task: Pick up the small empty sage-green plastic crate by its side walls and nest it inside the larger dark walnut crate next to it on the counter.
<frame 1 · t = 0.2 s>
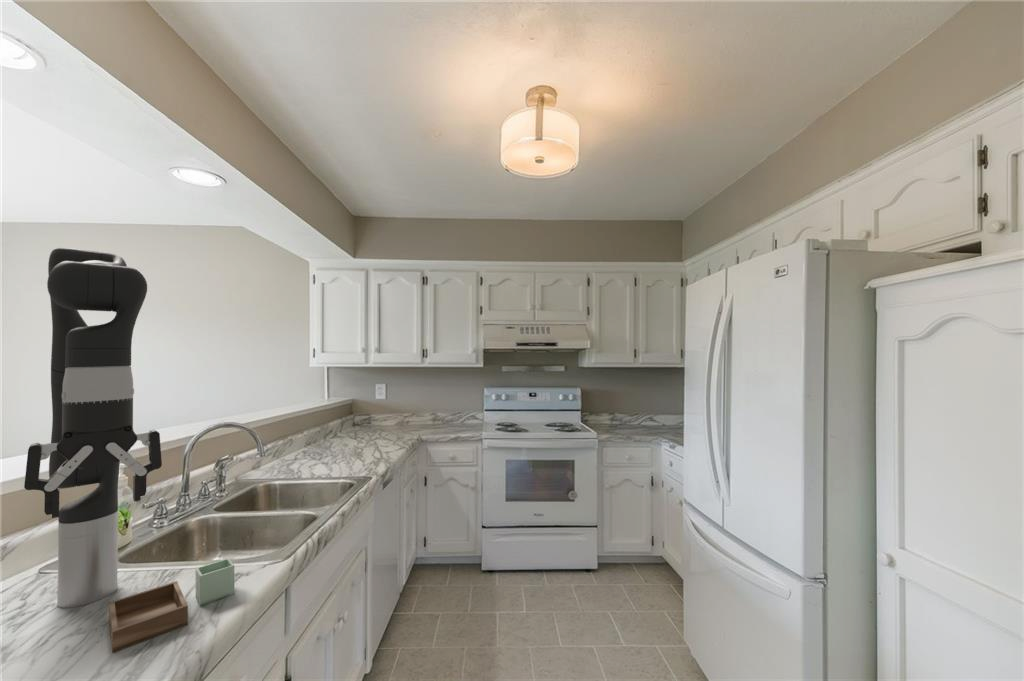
hand: (97, 507, 62), 29 cm above the worktop, tool pointing down, fingers open, 8 cm apart
big crate: (148, 622, 81), on the worktop
small crate: (215, 595, 90), on the worktop
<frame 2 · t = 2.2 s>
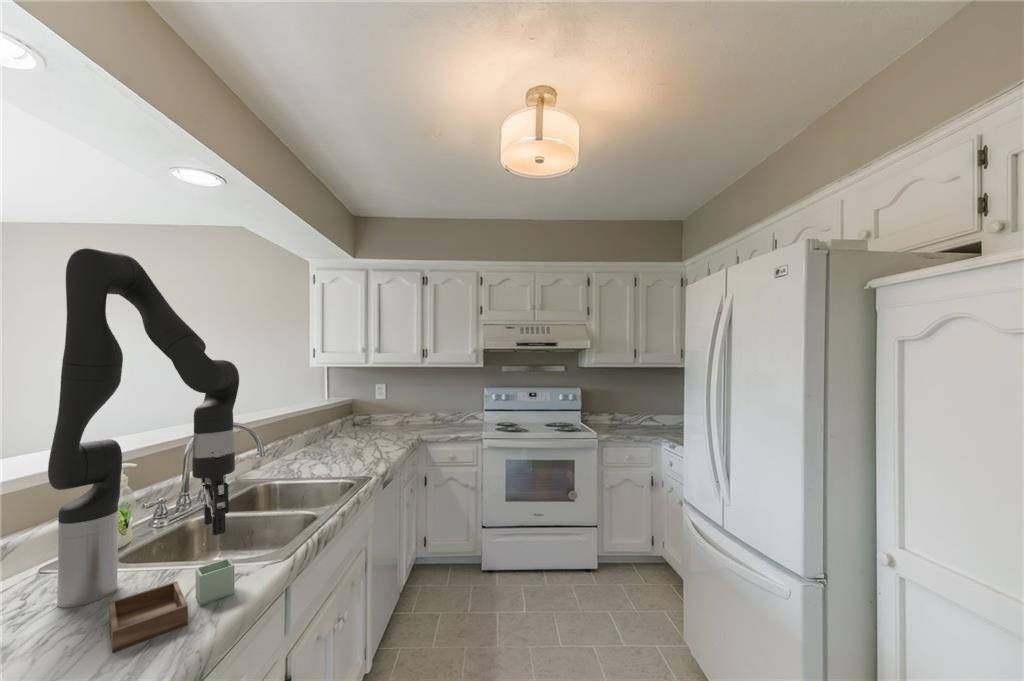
hand: (214, 528, 90), 14 cm above the worktop, tool pointing down, fingers open, 8 cm apart
nothing on the worktop moved.
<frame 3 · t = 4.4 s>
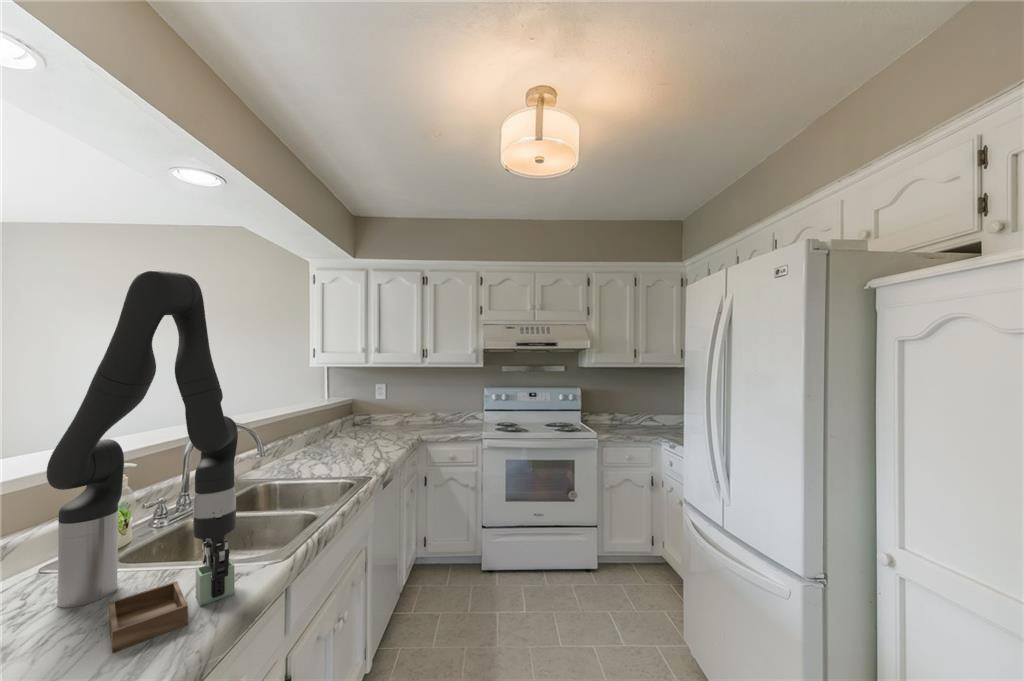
hand: (215, 590, 90), 1 cm above the worktop, tool pointing down, fingers closed on small crate, 5 cm apart
small crate: (215, 595, 90), on the worktop, touching gripper
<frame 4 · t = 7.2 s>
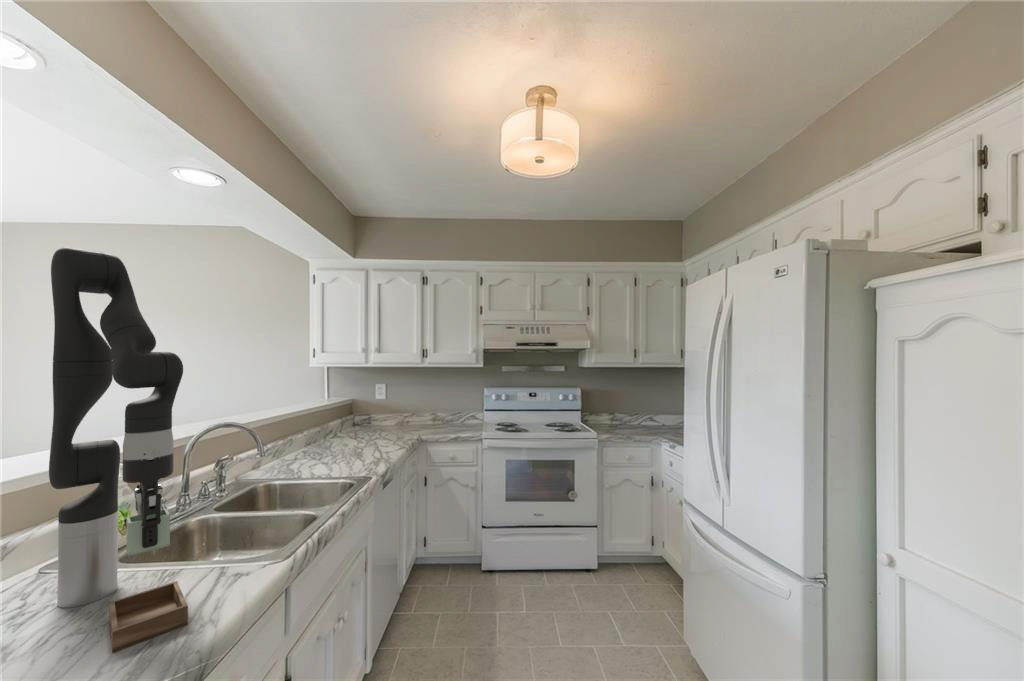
hand: (148, 541, 82), 15 cm above the worktop, tool pointing down, fingers closed on small crate, 5 cm apart
small crate: (148, 547, 82), point 14 cm above the worktop, touching gripper
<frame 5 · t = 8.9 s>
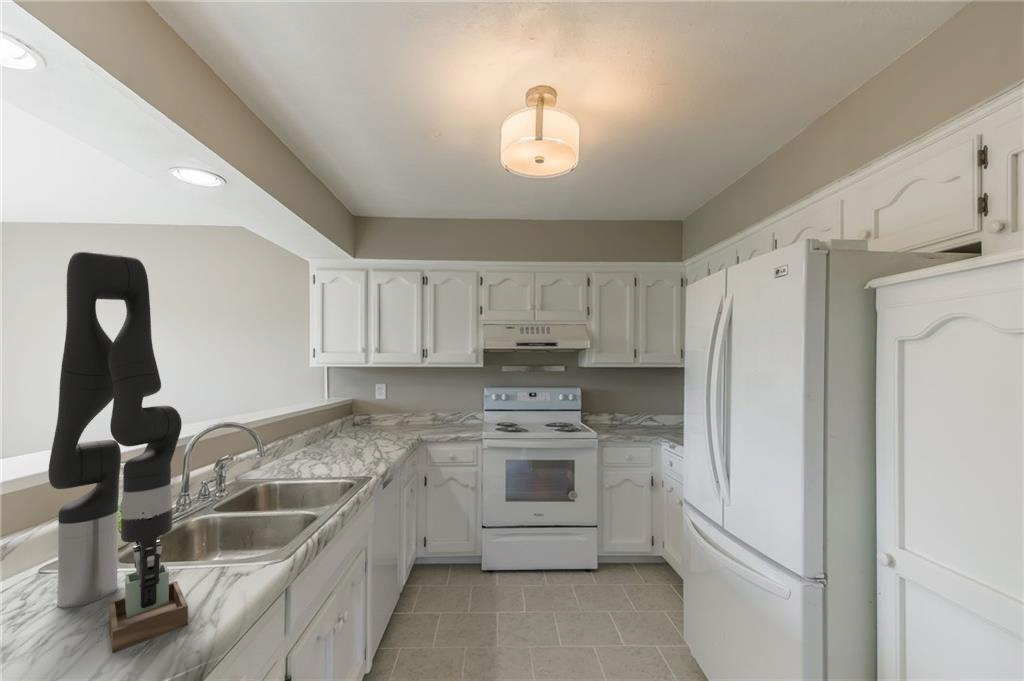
hand: (147, 599, 81), 4 cm above the worktop, tool pointing down, fingers closed on small crate, 5 cm apart
small crate: (147, 605, 81), point 3 cm above the worktop, touching gripper
when the fingers open (3 cm above the worktop, at t = 10.1 s): small crate drops 1 cm, resting on big crate.
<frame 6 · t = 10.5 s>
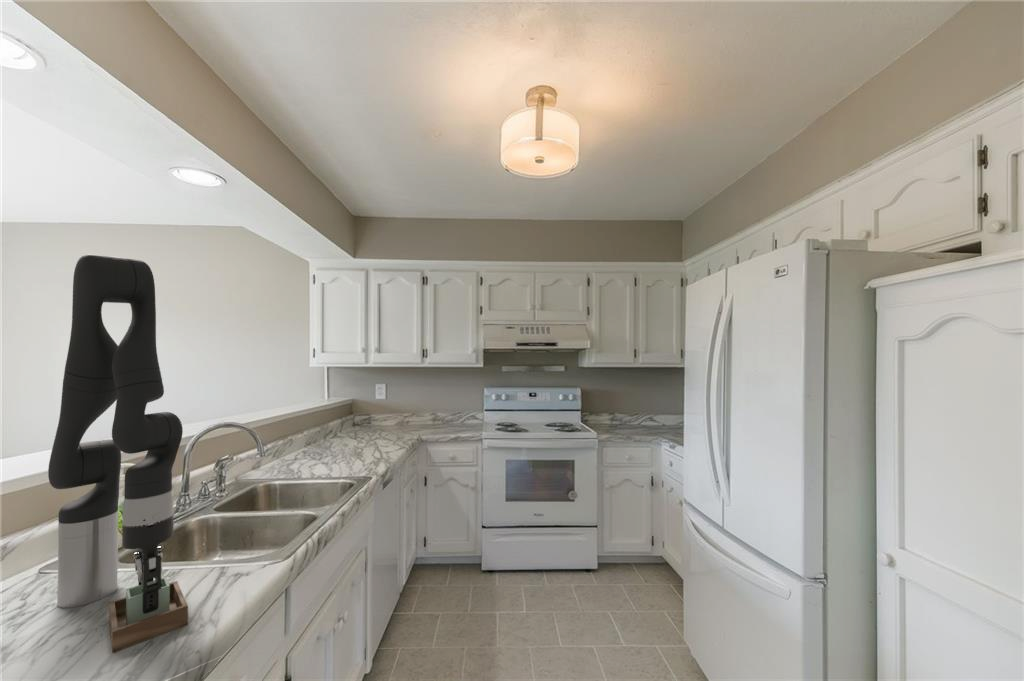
hand: (148, 602, 81), 4 cm above the worktop, tool pointing down, fingers open, 8 cm apart
small crate: (147, 619, 81), point 1 cm above the worktop, touching big crate
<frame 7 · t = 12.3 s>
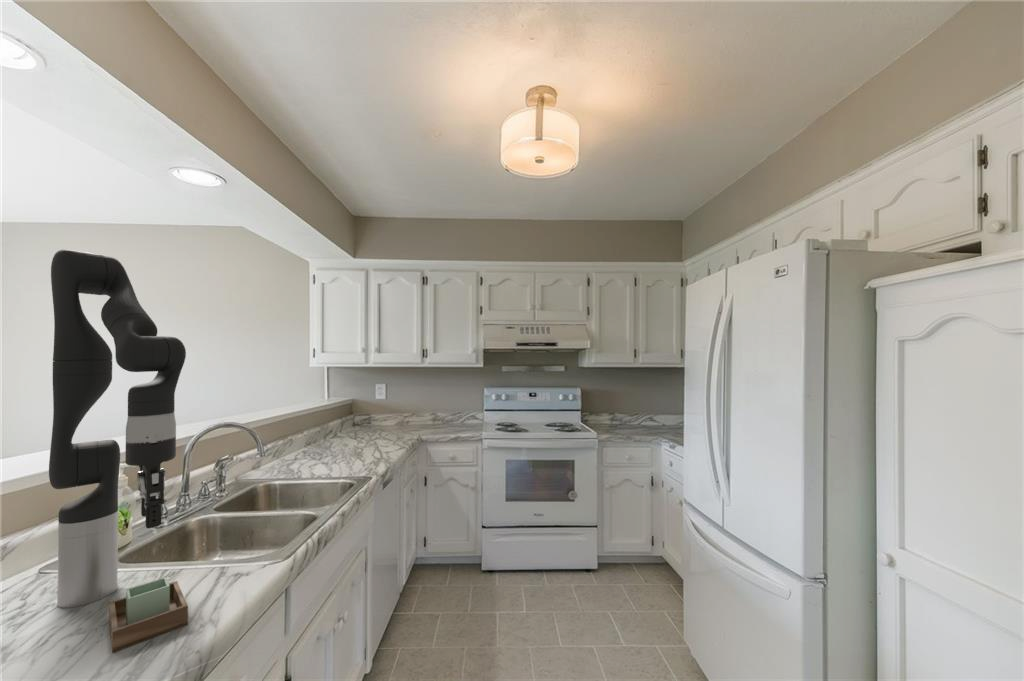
hand: (150, 520, 82), 19 cm above the worktop, tool pointing down, fingers open, 8 cm apart
nothing on the worktop moved.
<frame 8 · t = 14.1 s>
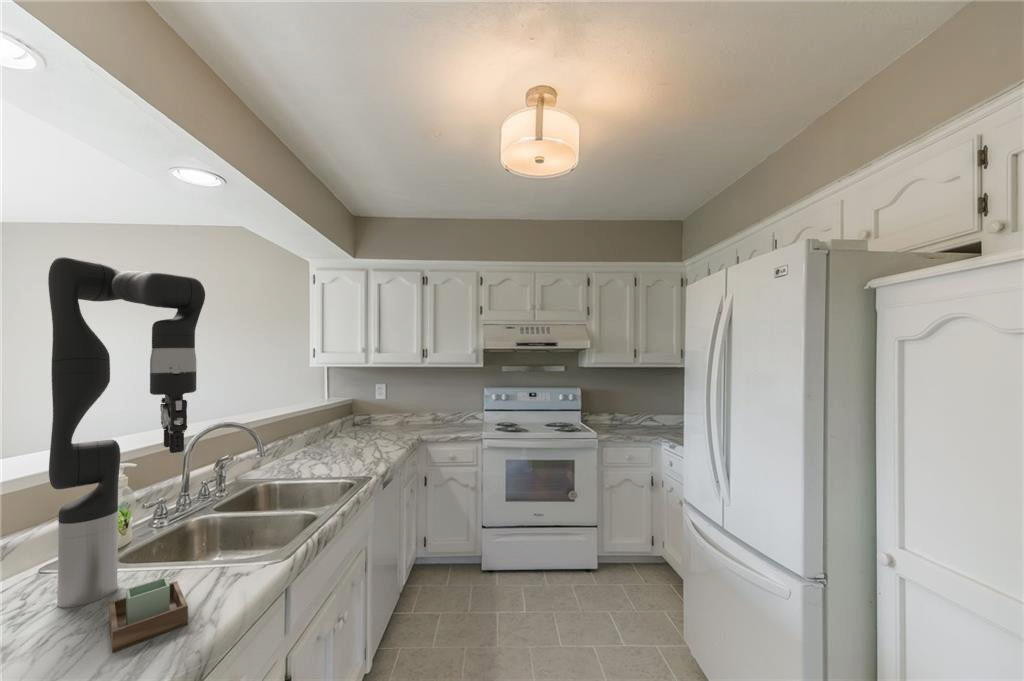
hand: (173, 449, 87), 32 cm above the worktop, tool pointing down, fingers open, 8 cm apart
nothing on the worktop moved.
at the end: small crate 0.0 cm off-centre on the big crate, point 0.6 cm above the big crate's base; small crate tilted 0°; the gripper is holding nothing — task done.
